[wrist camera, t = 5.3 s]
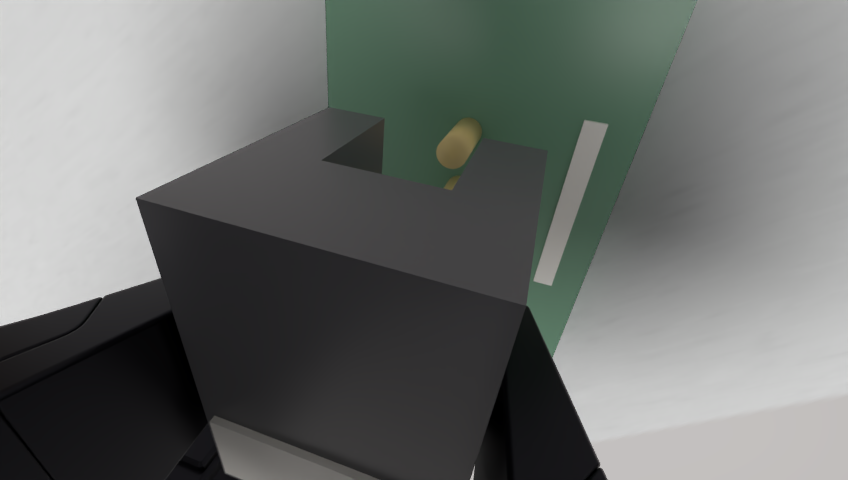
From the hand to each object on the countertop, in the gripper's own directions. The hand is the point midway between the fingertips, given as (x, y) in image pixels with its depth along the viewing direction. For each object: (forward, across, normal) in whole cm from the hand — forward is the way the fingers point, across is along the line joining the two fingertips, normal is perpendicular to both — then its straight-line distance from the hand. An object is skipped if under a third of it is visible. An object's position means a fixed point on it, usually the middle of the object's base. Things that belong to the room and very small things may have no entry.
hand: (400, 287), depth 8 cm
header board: (+6, 0, 0) cm, 6 cm away
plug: (+1, 0, 0) cm, 1 cm away
